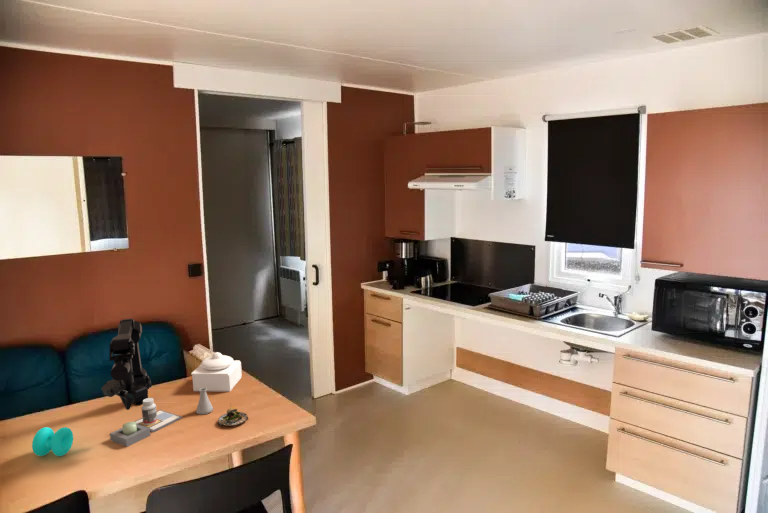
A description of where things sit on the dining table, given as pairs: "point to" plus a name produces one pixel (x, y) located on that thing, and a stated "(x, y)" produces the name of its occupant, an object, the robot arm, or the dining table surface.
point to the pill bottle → (149, 411)
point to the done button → (129, 428)
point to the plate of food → (232, 417)
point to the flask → (204, 403)
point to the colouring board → (161, 420)
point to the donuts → (52, 441)
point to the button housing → (130, 436)
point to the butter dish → (217, 373)
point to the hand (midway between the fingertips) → (128, 409)
